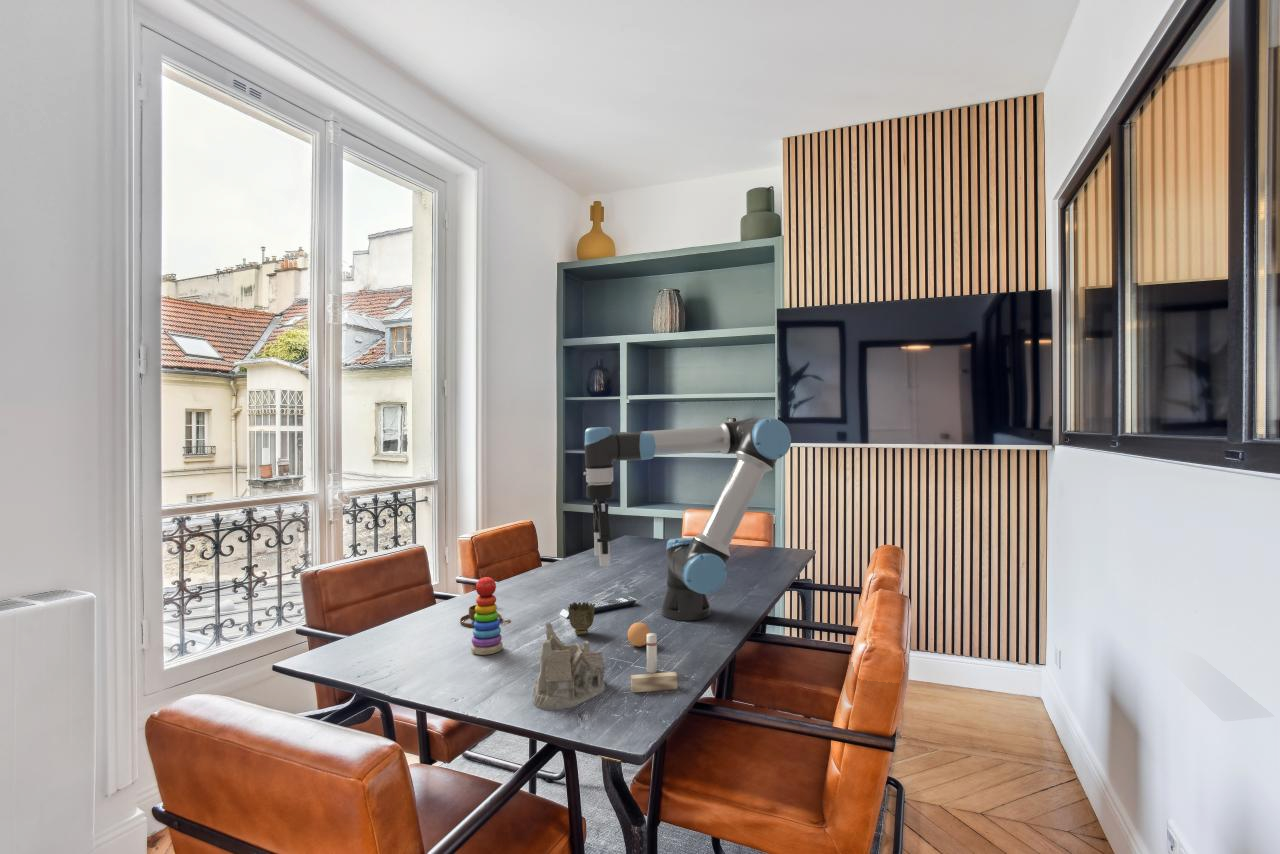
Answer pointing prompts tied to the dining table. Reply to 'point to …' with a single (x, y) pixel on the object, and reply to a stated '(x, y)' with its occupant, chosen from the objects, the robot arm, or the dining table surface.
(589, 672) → the ceramic cottage
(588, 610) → the cup
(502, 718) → the dining table surface
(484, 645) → the stacking toy
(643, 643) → the ball
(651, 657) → the pin
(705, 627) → the dining table surface
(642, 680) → the stopper rail
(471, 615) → the place setting
